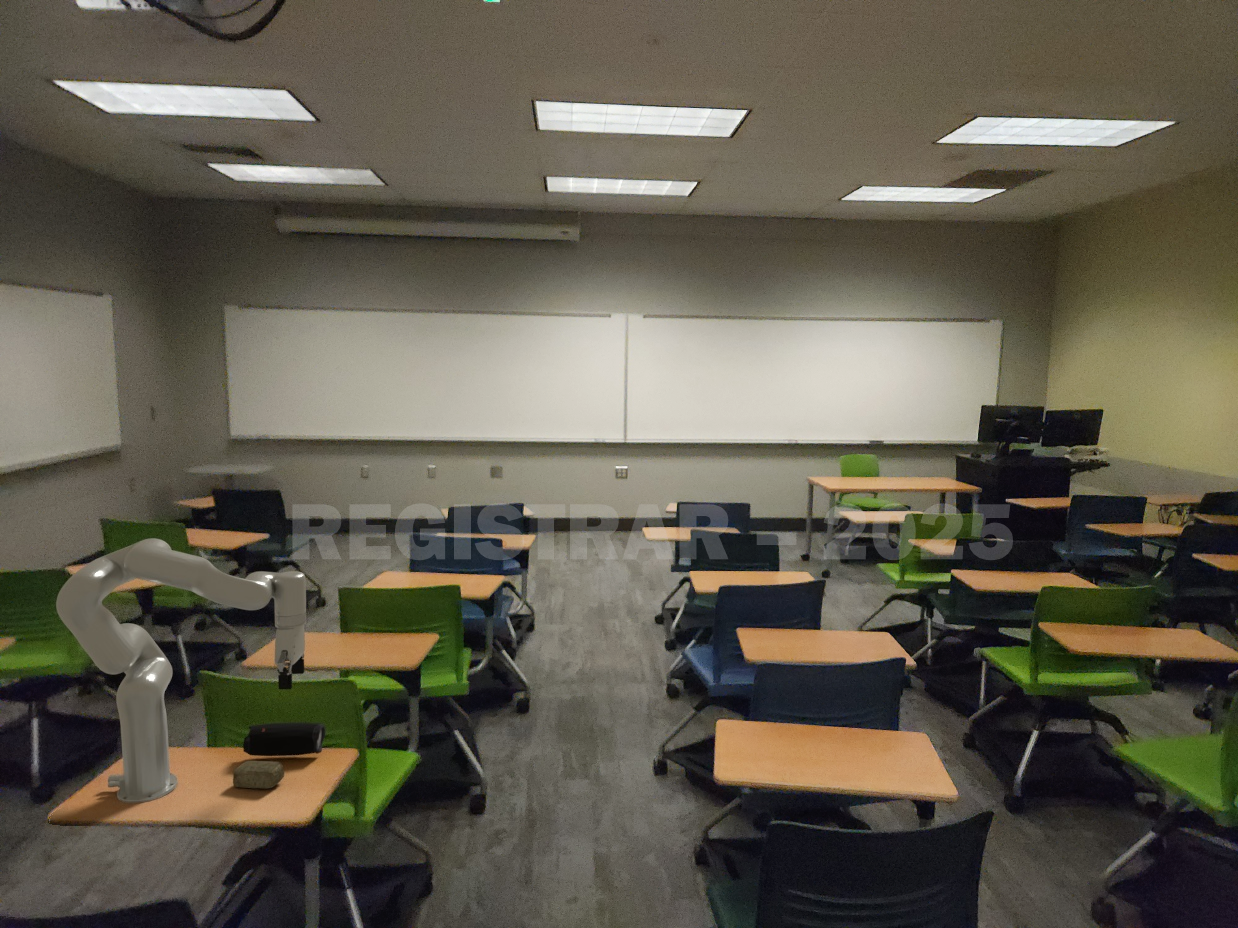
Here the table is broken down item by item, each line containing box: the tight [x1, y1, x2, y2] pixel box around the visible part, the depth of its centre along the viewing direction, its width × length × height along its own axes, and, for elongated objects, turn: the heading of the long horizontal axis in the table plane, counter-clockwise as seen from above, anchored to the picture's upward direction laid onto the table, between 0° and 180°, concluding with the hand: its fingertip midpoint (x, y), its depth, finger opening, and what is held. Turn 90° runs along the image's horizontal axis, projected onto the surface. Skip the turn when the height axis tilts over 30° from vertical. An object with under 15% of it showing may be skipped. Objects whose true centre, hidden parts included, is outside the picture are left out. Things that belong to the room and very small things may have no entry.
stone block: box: [232, 760, 285, 789], centre depth 179 cm, size 6×12×5 cm, turn 83°
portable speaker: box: [242, 721, 326, 757], centre depth 195 cm, size 9×9×20 cm
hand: (291, 680), depth 185 cm, fingers open, 9 cm apart
